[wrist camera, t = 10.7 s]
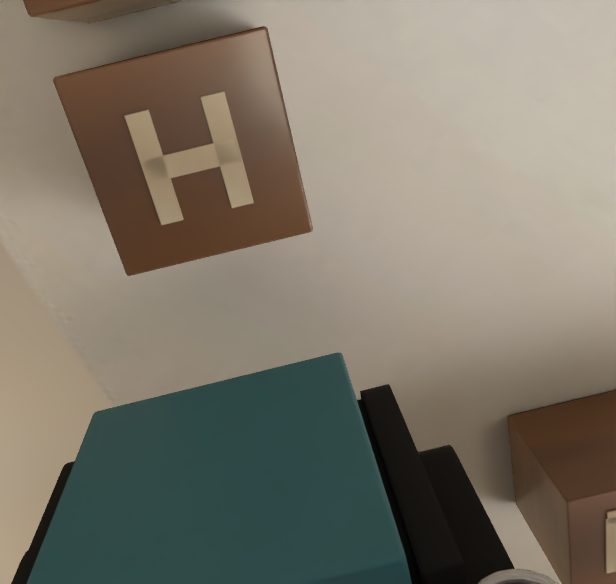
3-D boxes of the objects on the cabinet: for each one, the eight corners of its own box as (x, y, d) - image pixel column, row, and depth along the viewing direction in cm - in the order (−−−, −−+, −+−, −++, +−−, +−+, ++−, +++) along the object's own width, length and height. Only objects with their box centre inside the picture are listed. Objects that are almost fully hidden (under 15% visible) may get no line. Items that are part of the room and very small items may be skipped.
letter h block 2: (298, 187, 17) (314, 233, 13) (154, 222, 17) (126, 278, 13) (261, 29, 16) (266, 25, 12) (101, 68, 16) (49, 77, 12)
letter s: (341, 350, 10) (408, 562, 6) (382, 532, 12) (455, 790, 8) (93, 410, 10) (-10, 665, 6) (172, 584, 12) (135, 870, 8)
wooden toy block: (623, 478, 23) (702, 571, 19) (515, 504, 23) (572, 603, 19) (623, 387, 21) (711, 469, 17) (507, 415, 21) (568, 503, 17)
